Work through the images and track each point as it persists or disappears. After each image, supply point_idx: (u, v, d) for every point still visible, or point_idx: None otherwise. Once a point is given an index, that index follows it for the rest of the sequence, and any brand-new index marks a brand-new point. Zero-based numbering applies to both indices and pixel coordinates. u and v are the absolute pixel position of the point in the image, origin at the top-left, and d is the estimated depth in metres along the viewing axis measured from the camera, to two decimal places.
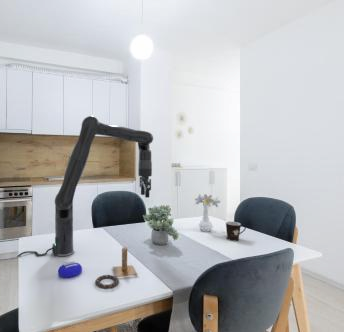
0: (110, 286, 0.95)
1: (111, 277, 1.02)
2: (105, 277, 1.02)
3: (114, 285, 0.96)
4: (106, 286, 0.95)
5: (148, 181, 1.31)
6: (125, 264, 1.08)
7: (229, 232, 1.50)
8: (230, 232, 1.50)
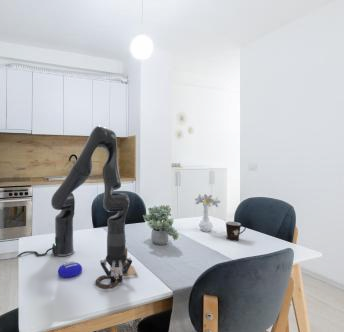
0: (110, 286, 0.95)
1: None
2: (105, 277, 1.02)
3: (114, 285, 0.96)
4: (106, 286, 0.95)
5: (101, 264, 0.99)
6: None
7: (229, 232, 1.50)
8: (230, 232, 1.50)
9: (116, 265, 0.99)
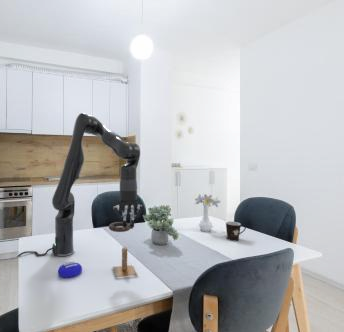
0: (123, 228, 1.01)
1: None
2: (118, 223, 1.08)
3: (127, 228, 1.02)
4: (119, 228, 1.01)
5: None
6: (125, 264, 1.08)
7: (229, 232, 1.50)
8: (230, 232, 1.50)
9: (128, 210, 1.04)
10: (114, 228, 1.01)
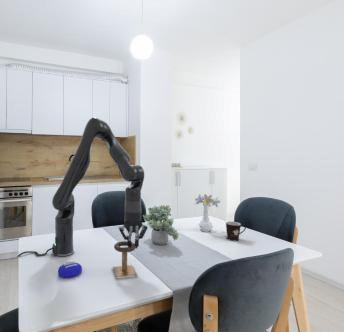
0: (128, 248, 1.04)
1: None
2: (122, 243, 1.11)
3: (132, 248, 1.05)
4: (125, 248, 1.04)
5: None
6: (125, 264, 1.08)
7: (229, 232, 1.50)
8: (230, 232, 1.50)
9: (133, 231, 1.08)
10: (120, 249, 1.04)
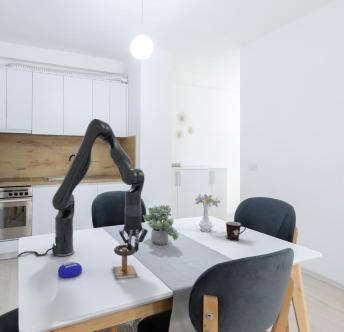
0: (128, 252, 1.04)
1: None
2: (122, 246, 1.11)
3: (132, 251, 1.05)
4: (125, 252, 1.04)
5: None
6: (125, 264, 1.08)
7: (229, 232, 1.50)
8: (230, 232, 1.50)
9: (133, 234, 1.08)
10: (120, 252, 1.05)
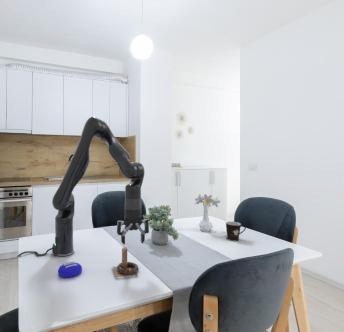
0: (131, 271, 1.05)
1: (131, 264, 1.12)
2: None
3: (134, 270, 1.06)
4: (127, 271, 1.05)
5: (117, 223, 1.08)
6: (125, 264, 1.08)
7: (229, 232, 1.50)
8: (230, 232, 1.50)
9: (133, 228, 1.08)
10: (122, 271, 1.05)
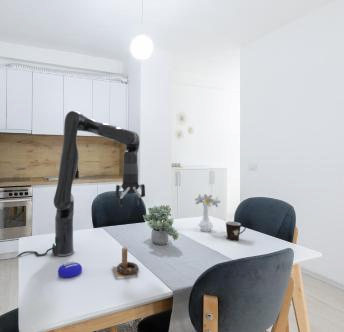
0: (131, 271, 1.05)
1: (131, 264, 1.12)
2: None
3: (134, 270, 1.06)
4: (127, 271, 1.05)
5: (116, 187, 1.17)
6: (125, 264, 1.08)
7: (229, 232, 1.50)
8: (230, 232, 1.50)
9: (130, 191, 1.17)
10: (122, 271, 1.05)
